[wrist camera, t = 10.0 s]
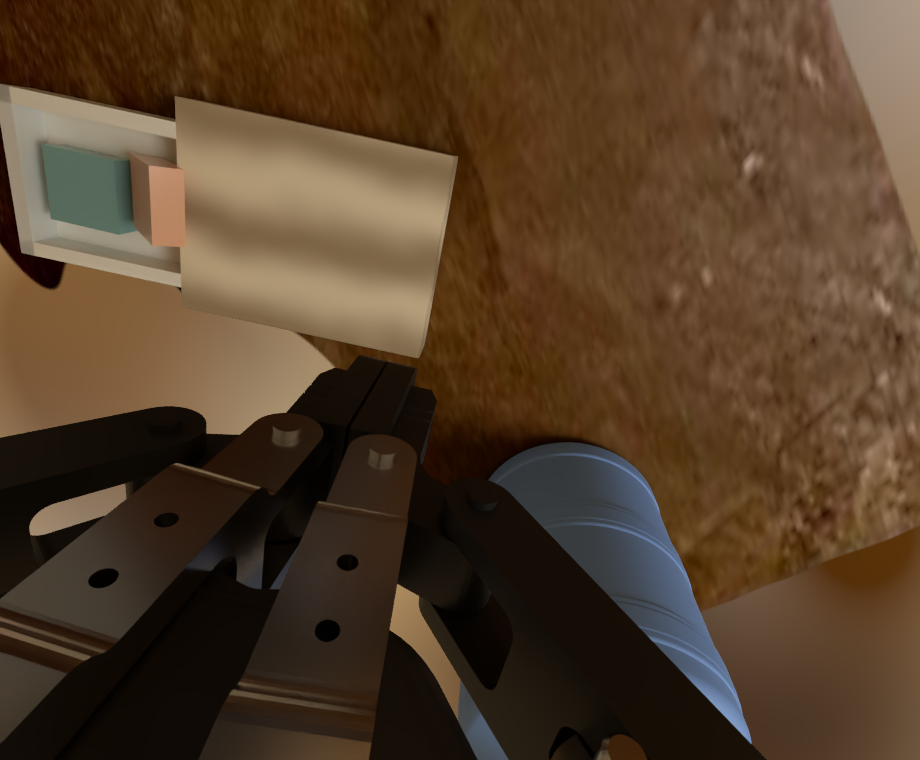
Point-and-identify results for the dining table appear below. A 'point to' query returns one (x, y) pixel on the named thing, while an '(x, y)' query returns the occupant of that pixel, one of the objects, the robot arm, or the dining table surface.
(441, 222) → the birch board
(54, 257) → the box
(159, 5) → the dining table surface
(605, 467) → the water jug
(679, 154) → the dining table surface
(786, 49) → the dining table surface
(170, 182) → the terracotta tile
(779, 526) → the dining table surface
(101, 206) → the teal tile
